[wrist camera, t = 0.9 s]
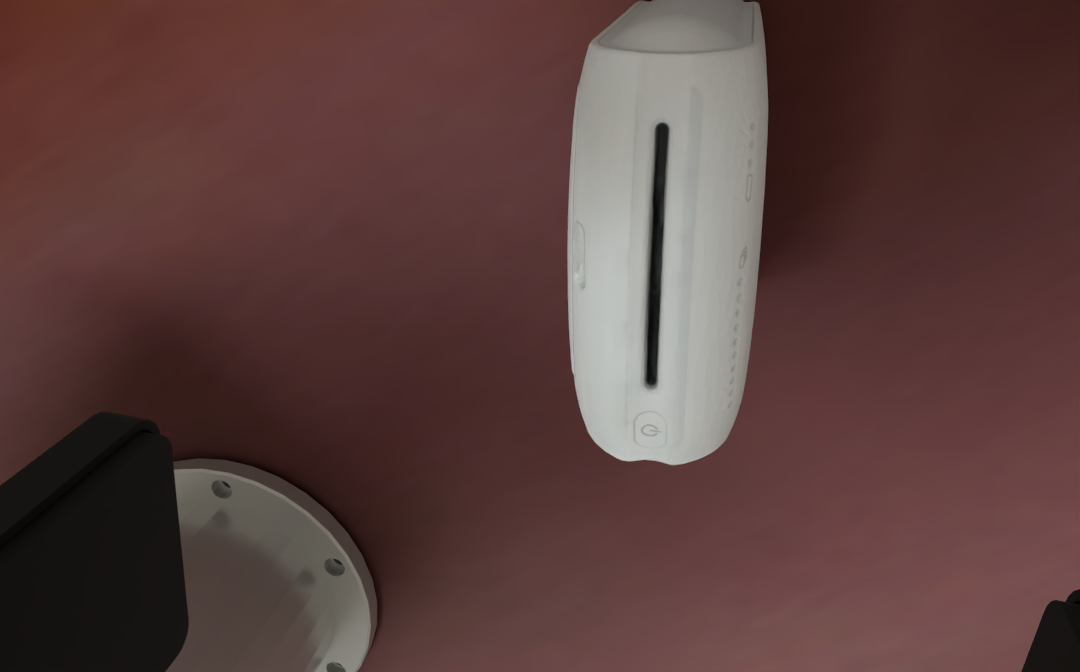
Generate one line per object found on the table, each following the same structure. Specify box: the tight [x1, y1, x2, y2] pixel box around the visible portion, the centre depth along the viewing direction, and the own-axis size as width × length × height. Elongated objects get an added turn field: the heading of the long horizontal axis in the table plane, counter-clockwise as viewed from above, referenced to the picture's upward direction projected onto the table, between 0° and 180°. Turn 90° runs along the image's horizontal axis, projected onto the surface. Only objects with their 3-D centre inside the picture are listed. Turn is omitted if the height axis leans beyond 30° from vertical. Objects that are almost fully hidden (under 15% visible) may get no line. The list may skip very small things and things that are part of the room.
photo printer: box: [568, 0, 768, 465], centre depth 25 cm, size 10×4×12 cm, turn 1°
